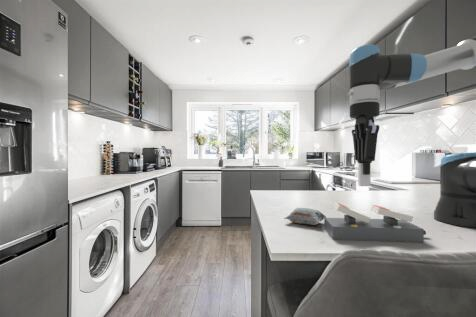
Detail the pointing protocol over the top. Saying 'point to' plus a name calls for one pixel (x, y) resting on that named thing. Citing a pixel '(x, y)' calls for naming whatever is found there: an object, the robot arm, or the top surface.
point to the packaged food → (306, 216)
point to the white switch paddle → (351, 212)
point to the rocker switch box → (373, 229)
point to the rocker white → (391, 213)
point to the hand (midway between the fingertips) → (364, 185)
